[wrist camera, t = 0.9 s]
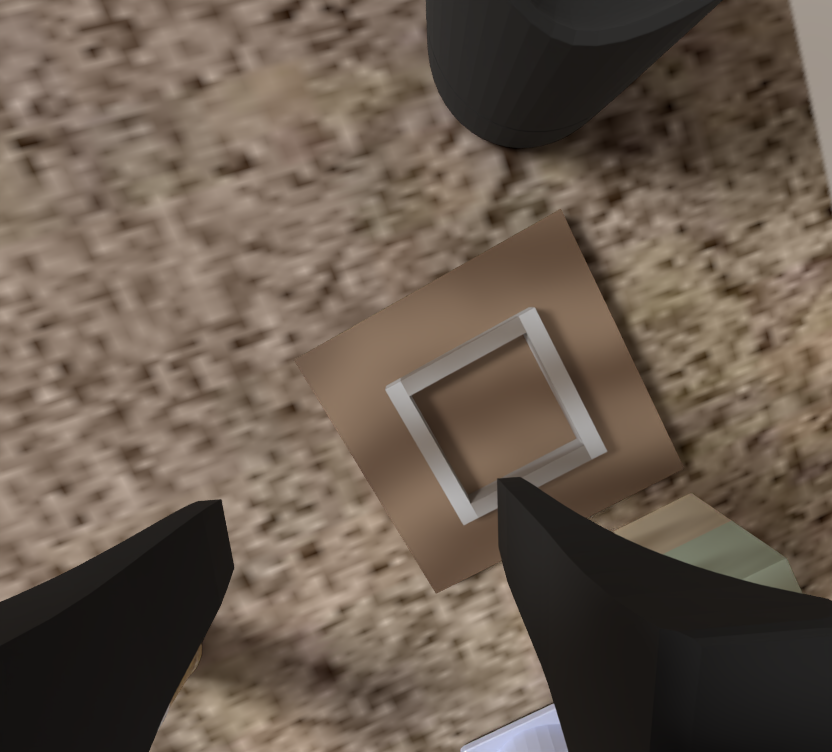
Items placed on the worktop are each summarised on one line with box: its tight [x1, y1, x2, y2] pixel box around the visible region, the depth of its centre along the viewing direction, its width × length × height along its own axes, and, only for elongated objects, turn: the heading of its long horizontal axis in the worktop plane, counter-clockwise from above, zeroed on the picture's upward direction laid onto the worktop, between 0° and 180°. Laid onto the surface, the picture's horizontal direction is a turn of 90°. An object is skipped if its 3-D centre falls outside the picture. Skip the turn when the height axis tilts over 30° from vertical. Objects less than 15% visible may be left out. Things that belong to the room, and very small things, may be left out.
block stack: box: [614, 493, 803, 594], centre depth 21 cm, size 4×4×6 cm
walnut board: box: [294, 209, 684, 593], centre depth 21 cm, size 14×14×2 cm
